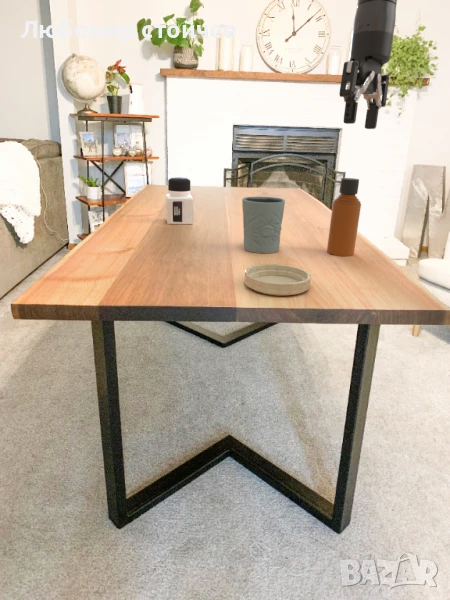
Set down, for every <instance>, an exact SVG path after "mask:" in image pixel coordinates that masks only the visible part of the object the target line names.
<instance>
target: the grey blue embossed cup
mask: <svg viewBox="0 0 450 600" xmlns="http://www.w3.org/2000/svg"><path fill="white" fill-rule="evenodd" d="M285 203H286V200H285V199H284V198H281V197H273V196H245V197H243V198H242V199H241V205H242V223H243V224H242V225H243V249H244V251H247V252H249V253H253V254H274V253H277V252H278V251H279V250H280V244H281V233H282V232H281V231H282V225H283V220H284V219H283V218H284V212H285Z"/></svg>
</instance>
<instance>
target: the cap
mask: <svg viewBox="0 0 450 600" xmlns="http://www.w3.org/2000/svg"><path fill="white" fill-rule="evenodd" d="M339 183H340V184H339V191H338V192H339V193H340V194H341V193H342V194H355V195H358V192H359V184H360V179H359V178H354V177H352V178H351V177H342V178H340V182H339Z"/></svg>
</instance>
